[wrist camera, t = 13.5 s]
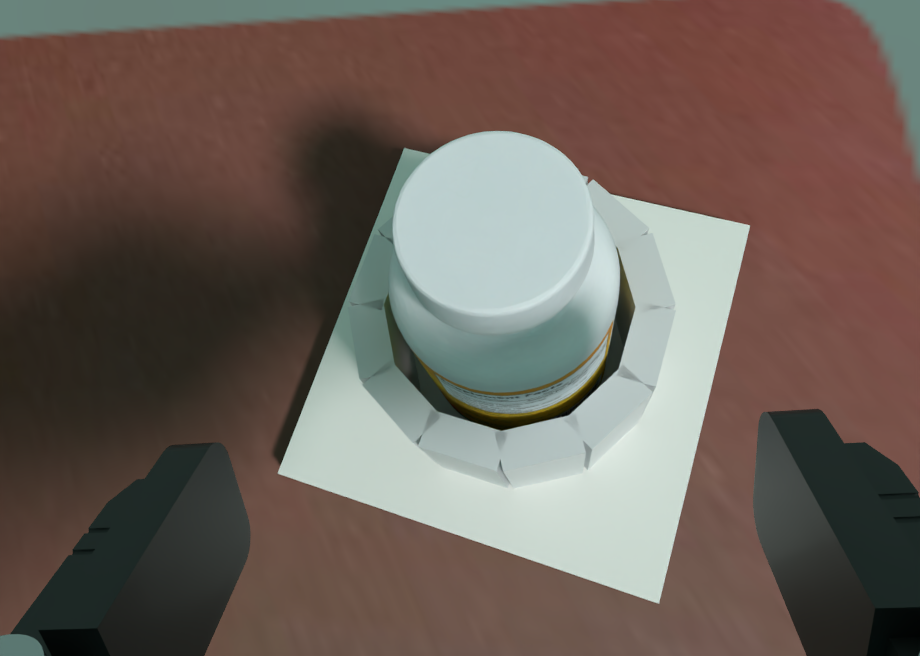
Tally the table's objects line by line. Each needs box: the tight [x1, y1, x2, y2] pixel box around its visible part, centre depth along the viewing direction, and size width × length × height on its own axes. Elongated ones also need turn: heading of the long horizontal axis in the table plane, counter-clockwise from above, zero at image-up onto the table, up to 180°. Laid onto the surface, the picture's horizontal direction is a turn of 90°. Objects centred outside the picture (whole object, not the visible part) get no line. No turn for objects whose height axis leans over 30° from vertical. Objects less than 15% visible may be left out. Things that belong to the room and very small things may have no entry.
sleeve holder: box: [278, 148, 750, 604], centre depth 22 cm, size 12×12×5 cm
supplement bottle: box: [388, 131, 620, 431], centre depth 19 cm, size 5×5×10 cm
